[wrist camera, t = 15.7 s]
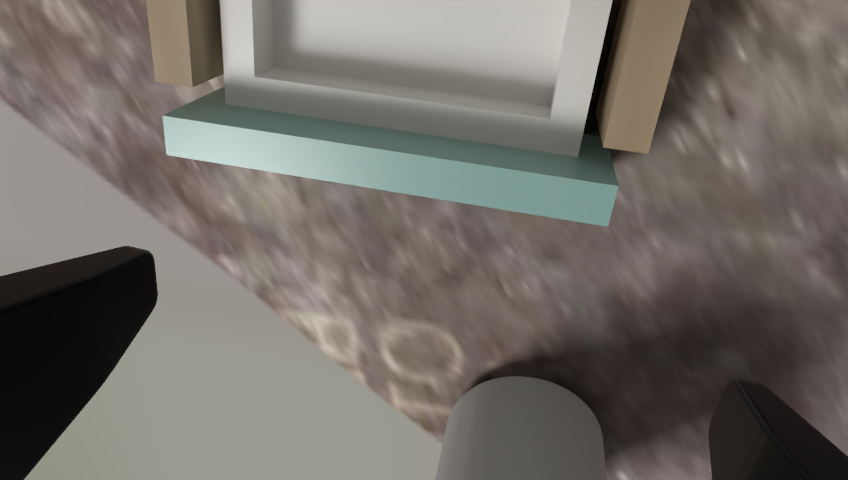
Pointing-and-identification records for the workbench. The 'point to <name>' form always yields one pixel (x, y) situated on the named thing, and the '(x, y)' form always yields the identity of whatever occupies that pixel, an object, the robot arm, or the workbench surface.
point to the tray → (413, 100)
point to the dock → (620, 93)
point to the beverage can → (521, 434)
